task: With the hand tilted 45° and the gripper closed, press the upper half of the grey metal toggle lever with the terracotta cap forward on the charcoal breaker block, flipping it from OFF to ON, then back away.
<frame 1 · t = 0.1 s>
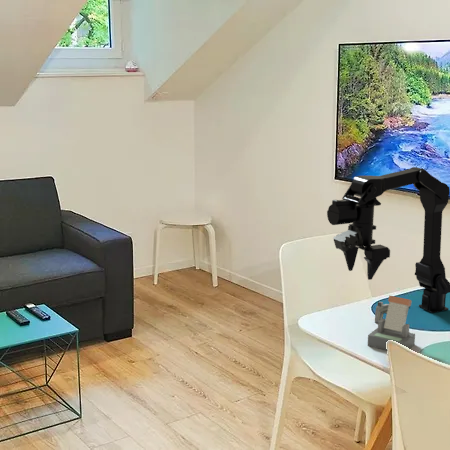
hand: (359, 274, 205), 15 cm above the table, tool pointing down, fingers open, 9 cm apart
caliper: (392, 315, 216), on the table
breaker housing: (392, 343, 193), on the table
toggle lever: (397, 314, 193), point 8 cm above the table, hinge at -25.0°
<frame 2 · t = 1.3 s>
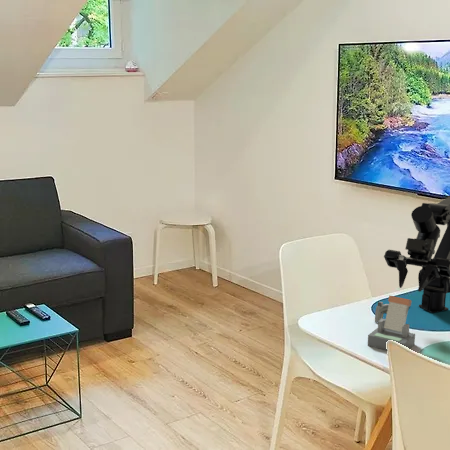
hand: (409, 289, 199), 13 cm above the table, tool tilted 45°, fingers open, 5 cm apart
nothing on the table moved.
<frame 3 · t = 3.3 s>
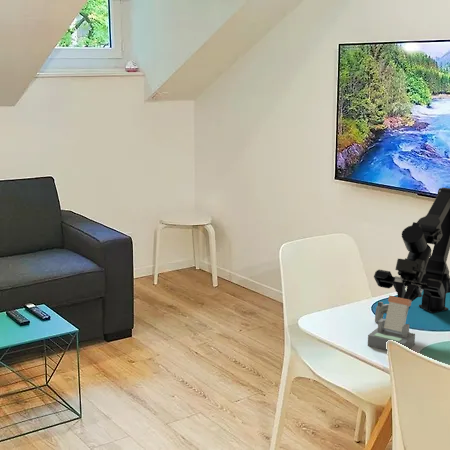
hand: (399, 310, 195), 8 cm above the table, tool tilted 45°, fingers closed, pressing on toggle lever
toggle lever: (397, 314, 193), point 8 cm above the table, hinge at -24.6°, touching gripper
everything else where it was.
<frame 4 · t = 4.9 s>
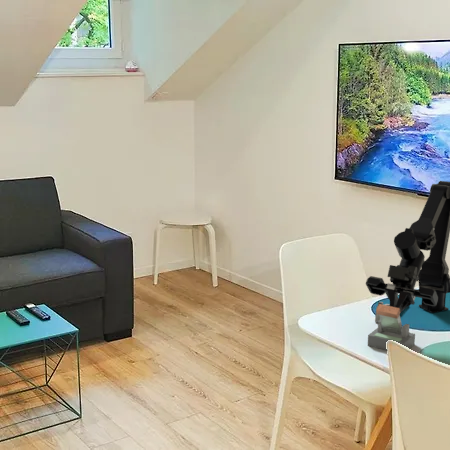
hand: (391, 318, 190), 8 cm above the table, tool tilted 45°, fingers closed, pressing on toggle lever
toggle lever: (390, 320, 190), point 8 cm above the table, hinge at 31.9°, touching gripper
everything else where it was.
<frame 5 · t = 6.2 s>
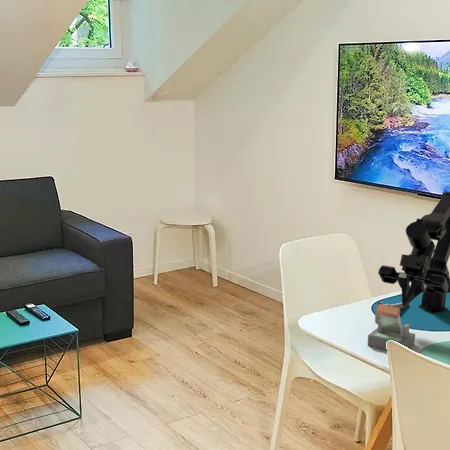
hand: (403, 305, 197), 9 cm above the table, tool tilted 45°, fingers closed
toggle lever: (390, 320, 190), point 8 cm above the table, hinge at 32.0°
everything else where it was.
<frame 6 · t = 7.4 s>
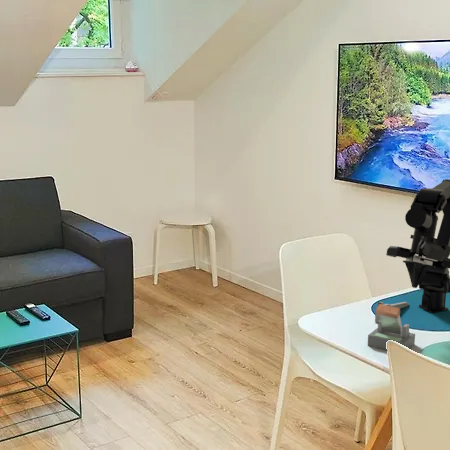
hand: (414, 287, 202), 12 cm above the table, tool tilted 20°, fingers closed
nothing on the table moved.
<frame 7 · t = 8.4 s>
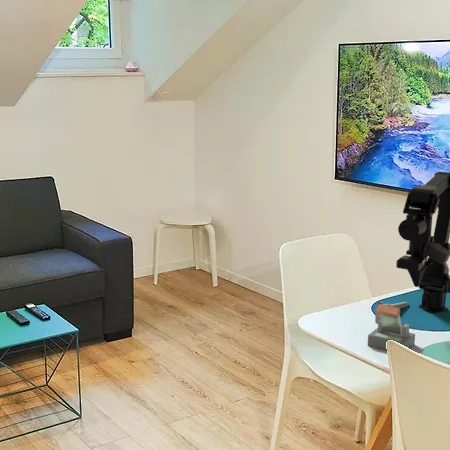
hand: (416, 286, 203), 12 cm above the table, tool pointing down, fingers closed
nothing on the table moved.
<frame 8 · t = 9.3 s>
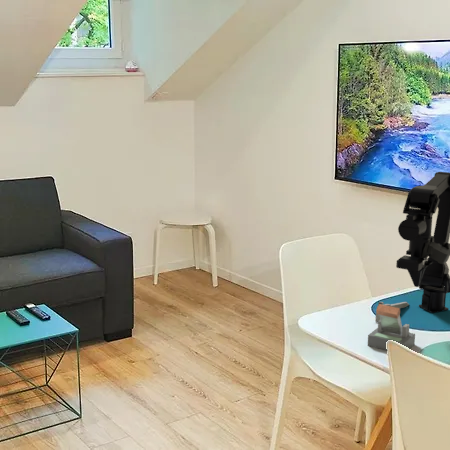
hand: (416, 286, 203), 12 cm above the table, tool pointing down, fingers closed
nothing on the table moved.
at the end: toggle lever at +32° (first picture: -25°); caliper moved 0.5 cm from its start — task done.
